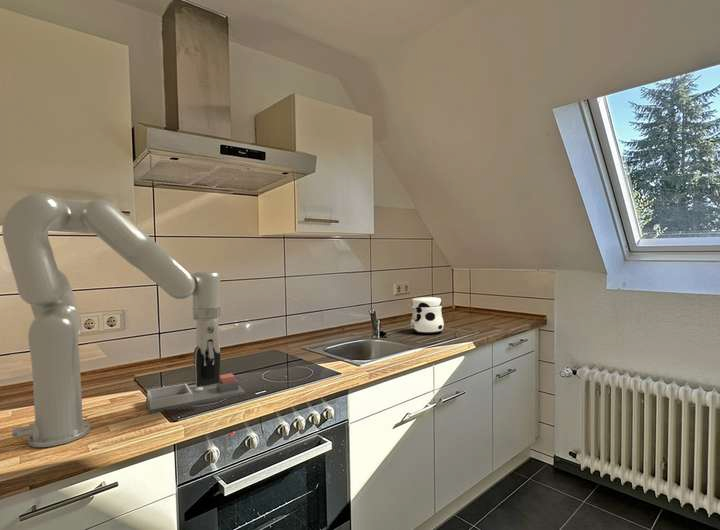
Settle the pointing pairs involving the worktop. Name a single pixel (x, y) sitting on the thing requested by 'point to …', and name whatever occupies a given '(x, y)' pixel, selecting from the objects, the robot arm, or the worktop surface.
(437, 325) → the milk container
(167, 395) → the charging dock
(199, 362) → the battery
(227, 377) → the red cube
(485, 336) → the worktop surface
